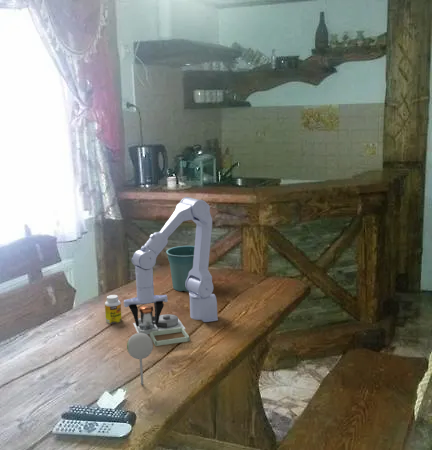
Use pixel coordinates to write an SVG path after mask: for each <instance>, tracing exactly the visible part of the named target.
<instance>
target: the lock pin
mask: <svg viewBox="0 0 432 450" xmlns="http://www.w3.org/2000/svg"><path fill="white" fill-rule="evenodd" d="M138 312H139V313H140V318H141V330H149V329H153V312H154V307H153V306H152V305H142V306H140V307H139V308H138Z"/></svg>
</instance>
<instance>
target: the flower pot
mask: <svg viewBox="0 0 432 450" xmlns="http://www.w3.org/2000/svg"><path fill="white" fill-rule="evenodd" d="M194 248H195V245H182V246H174V247H170V248H168V249H167V250H166V251H165V253H166V255H167V259H168V262H169V268H170V274H171V275H170V276H171V282H172V283H171V284H172V289H174V290H175V291H177V292H182V291H184V292H188V293H189V291H188V290H187V289H186V286H185V282H186V280H187V278H188V273H189V271H190V270H191V269H192V268H193V259H194Z"/></svg>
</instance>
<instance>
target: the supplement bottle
mask: <svg viewBox="0 0 432 450" xmlns="http://www.w3.org/2000/svg"><path fill="white" fill-rule="evenodd" d="M121 305H122V304H121V301H120V300H119V296H118V295H117V294H110V295H107V296H106V301H105V302H104V311H105V312H104V313H105V315H104V316H105V323H106V324H111V325H112V324H118V323H121V322H122V318H123V317H122V306H121Z"/></svg>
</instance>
